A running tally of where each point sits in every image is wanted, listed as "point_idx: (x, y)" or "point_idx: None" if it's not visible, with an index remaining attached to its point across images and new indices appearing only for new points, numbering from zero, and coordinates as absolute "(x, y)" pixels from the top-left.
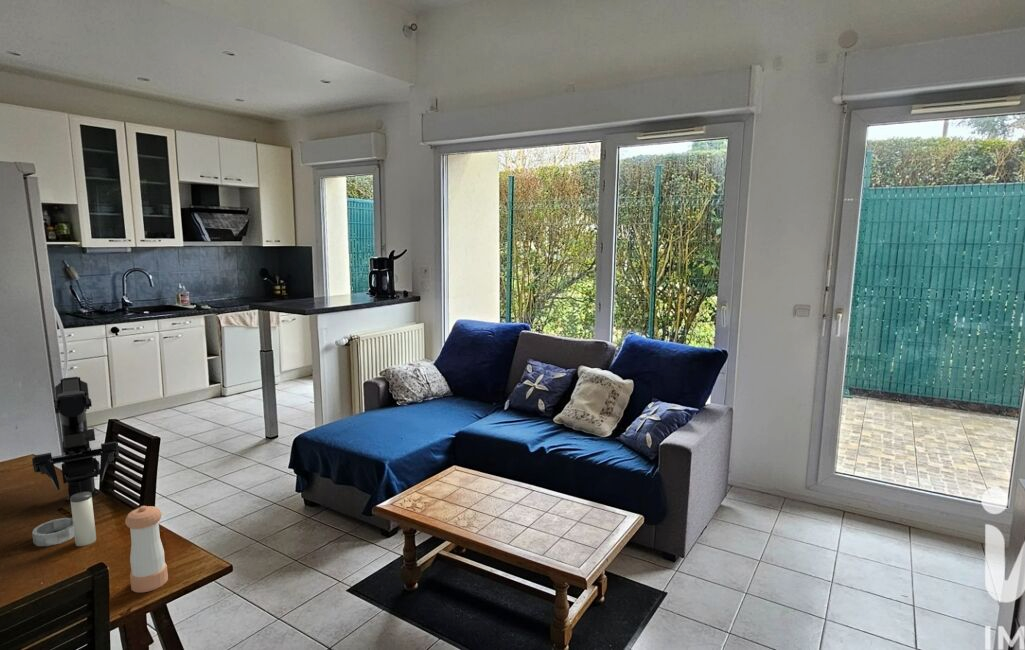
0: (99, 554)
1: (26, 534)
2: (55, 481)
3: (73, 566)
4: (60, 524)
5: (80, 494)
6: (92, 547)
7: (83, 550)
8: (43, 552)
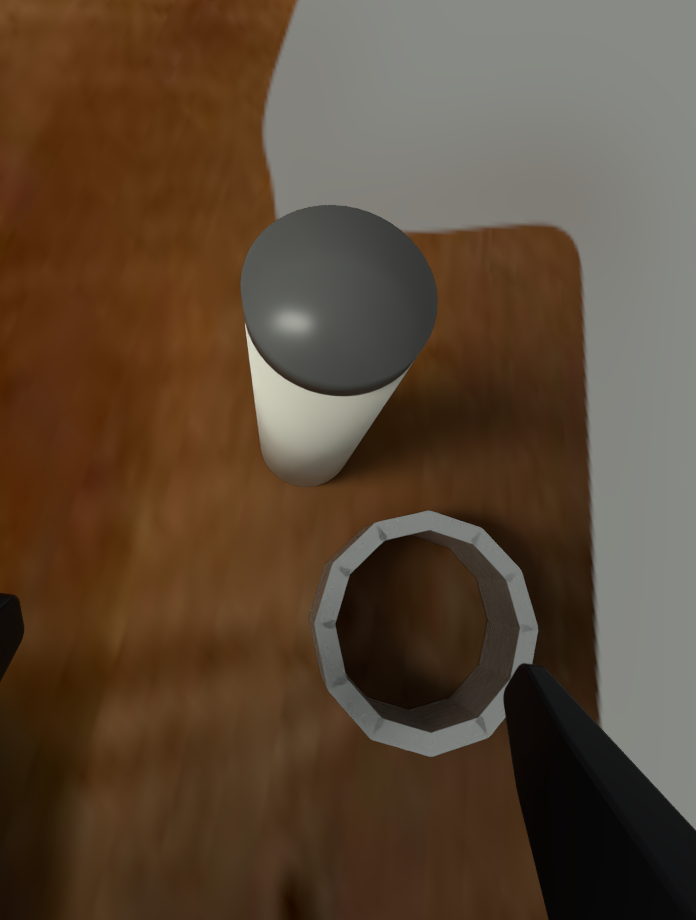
0: None
1: None
2: (623, 765)
3: None
4: (387, 713)
5: (340, 320)
6: None
7: None
8: (471, 475)
